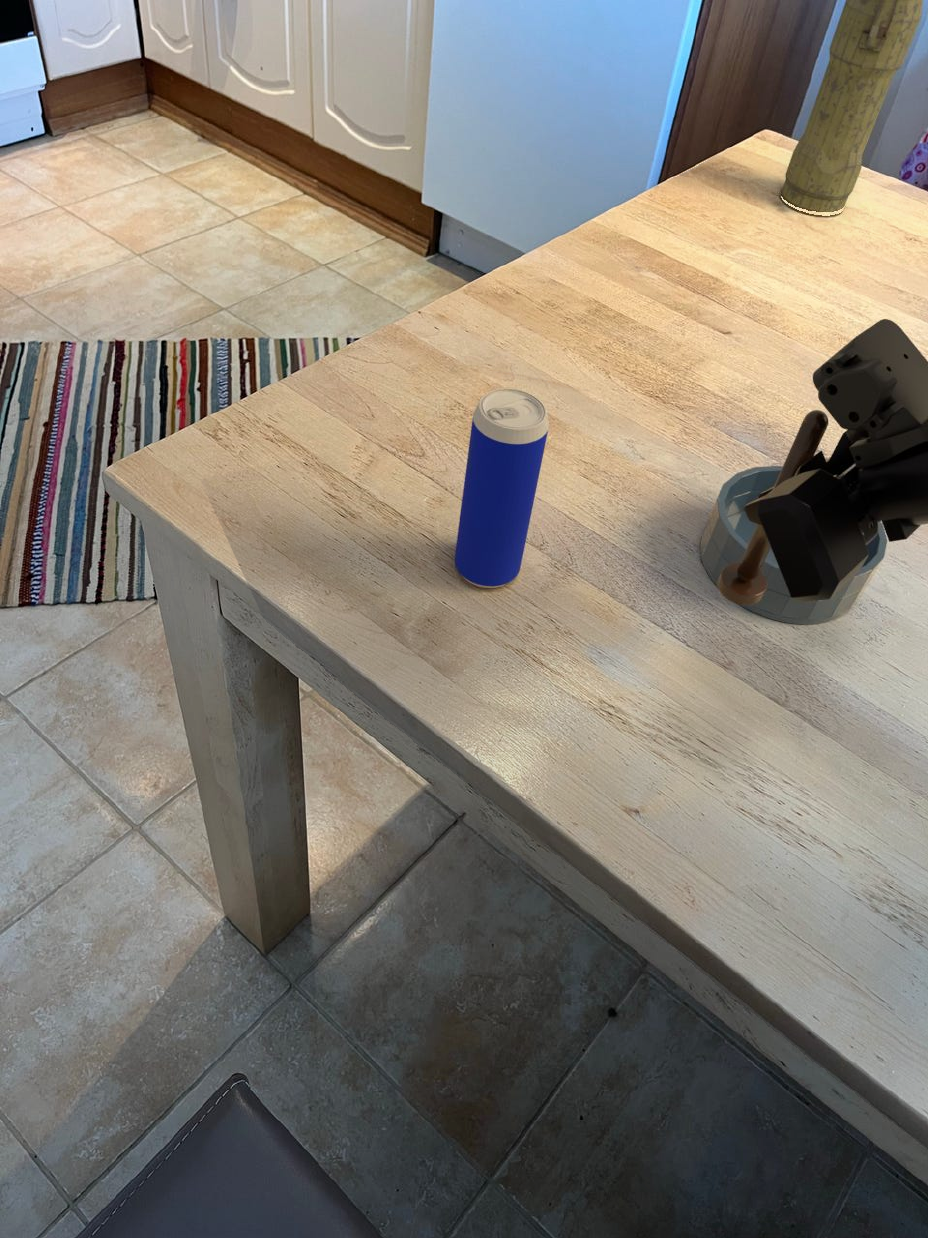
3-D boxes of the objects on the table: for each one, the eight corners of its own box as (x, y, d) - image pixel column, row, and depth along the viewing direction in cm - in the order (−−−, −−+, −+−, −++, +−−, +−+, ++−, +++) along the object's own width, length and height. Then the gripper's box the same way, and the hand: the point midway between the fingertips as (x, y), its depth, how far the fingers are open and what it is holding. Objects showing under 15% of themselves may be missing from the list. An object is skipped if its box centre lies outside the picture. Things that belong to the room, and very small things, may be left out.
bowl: (870, 544, 81) (895, 499, 77) (847, 648, 72) (875, 603, 68) (720, 492, 83) (738, 447, 80) (682, 586, 75) (700, 540, 71)
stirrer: (772, 592, 66) (858, 417, 55) (743, 612, 64) (827, 435, 53) (736, 566, 67) (813, 390, 57) (707, 584, 66) (781, 407, 55)
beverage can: (500, 539, 76) (528, 380, 65) (530, 582, 73) (565, 423, 62) (442, 554, 74) (461, 393, 63) (471, 599, 72) (496, 438, 60)
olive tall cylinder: (842, 190, 132) (965, -124, 106) (846, 227, 124) (980, -104, 98) (778, 178, 132) (885, -137, 106) (778, 213, 124) (894, -118, 99)
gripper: (1025, 256, 52) (784, 344, 65) (866, 371, 42) (618, 449, 55) (1083, 441, 55) (840, 491, 67) (945, 592, 45) (690, 617, 57)
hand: (754, 507), depth 62 cm, fingers closed on stirrer
